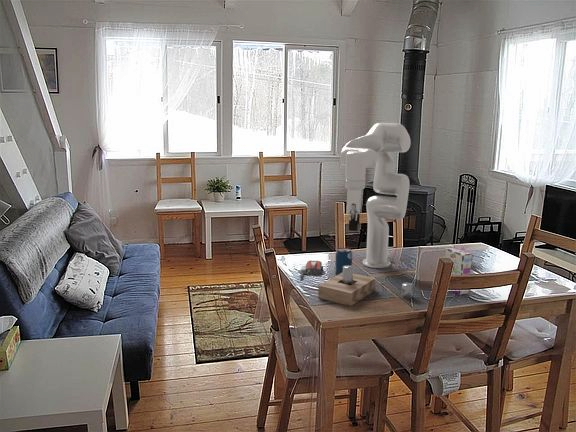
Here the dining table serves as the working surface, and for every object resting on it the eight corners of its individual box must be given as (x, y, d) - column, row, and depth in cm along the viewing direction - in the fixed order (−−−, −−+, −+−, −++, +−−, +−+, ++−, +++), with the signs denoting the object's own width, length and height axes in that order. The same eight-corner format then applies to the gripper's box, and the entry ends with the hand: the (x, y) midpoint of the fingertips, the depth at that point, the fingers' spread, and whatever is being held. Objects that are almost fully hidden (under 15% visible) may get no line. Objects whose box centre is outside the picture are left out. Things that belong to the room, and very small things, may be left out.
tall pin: (345, 291, 208) (345, 264, 205) (354, 293, 206) (355, 266, 203) (340, 294, 205) (340, 267, 202) (349, 296, 202) (350, 269, 200)
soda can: (354, 277, 224) (355, 250, 221) (341, 280, 220) (342, 252, 217) (345, 273, 229) (345, 246, 227) (331, 275, 226) (332, 248, 223)
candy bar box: (470, 294, 206) (473, 253, 202) (459, 295, 204) (463, 255, 200) (451, 284, 216) (454, 246, 212) (441, 286, 214) (444, 247, 211)
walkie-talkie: (302, 265, 240) (298, 280, 221) (303, 256, 239) (298, 270, 220) (322, 266, 239) (319, 281, 220) (322, 257, 238) (319, 271, 219)
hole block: (343, 283, 217) (344, 271, 216) (374, 290, 209) (375, 278, 208) (318, 297, 201) (318, 285, 200) (350, 306, 193) (351, 293, 192)
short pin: (404, 294, 205) (404, 281, 204) (413, 296, 203) (414, 284, 202) (399, 297, 202) (400, 284, 201) (409, 299, 200) (410, 287, 199)
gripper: (347, 179, 210) (346, 220, 214) (342, 188, 193) (342, 232, 198) (366, 179, 208) (365, 221, 213) (363, 188, 192) (362, 233, 196)
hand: (354, 226), depth 205 cm, fingers open, 9 cm apart
